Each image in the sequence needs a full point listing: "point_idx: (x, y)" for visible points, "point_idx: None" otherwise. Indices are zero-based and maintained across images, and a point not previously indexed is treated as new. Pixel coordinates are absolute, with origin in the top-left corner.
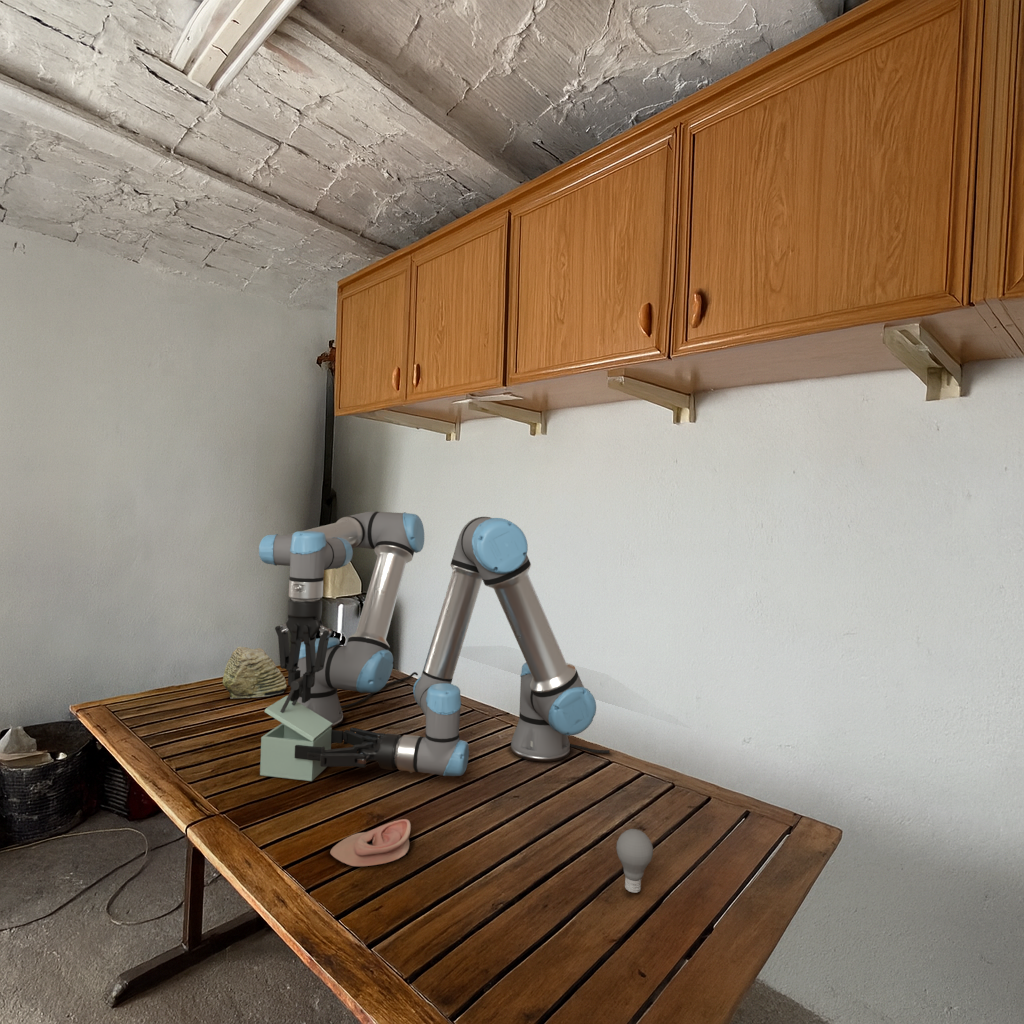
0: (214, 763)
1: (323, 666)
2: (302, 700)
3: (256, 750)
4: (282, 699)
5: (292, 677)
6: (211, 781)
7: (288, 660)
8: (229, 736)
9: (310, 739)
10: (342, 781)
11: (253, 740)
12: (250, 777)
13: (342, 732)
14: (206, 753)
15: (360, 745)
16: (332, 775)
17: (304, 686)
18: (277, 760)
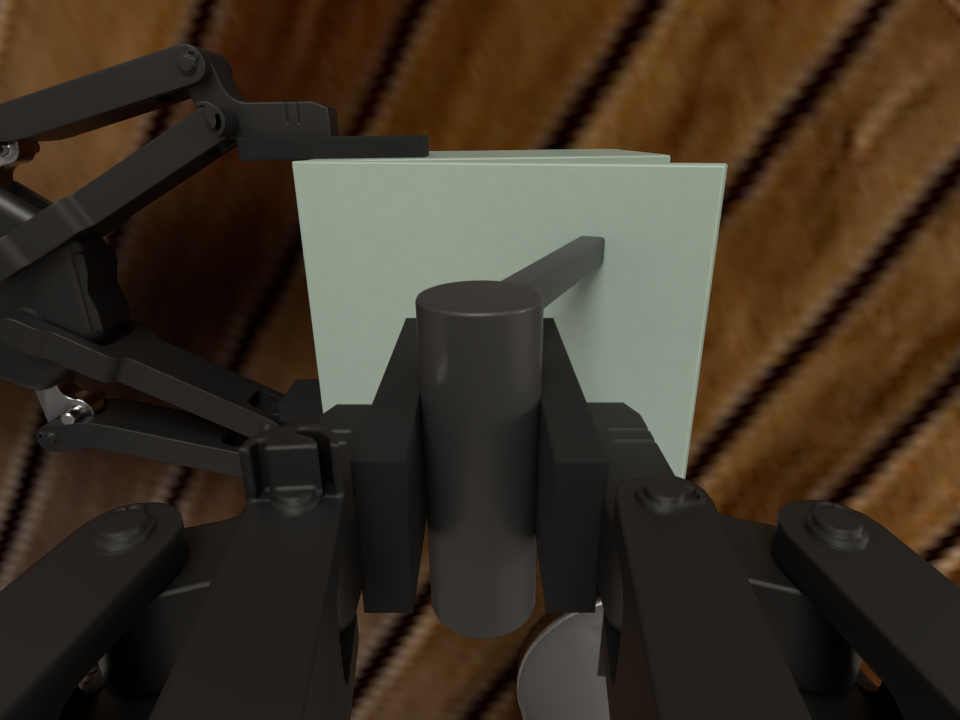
0: (871, 214)
1: (100, 685)
2: None
3: (742, 384)
4: (678, 424)
5: (581, 427)
6: (807, 23)
7: (813, 718)
8: (912, 479)
9: (322, 160)
10: (224, 189)
11: (796, 468)
12: (645, 117)
13: (280, 410)
14: (947, 302)
15: (36, 229)
16: (300, 235)
17: (396, 379)
18: (536, 152)
